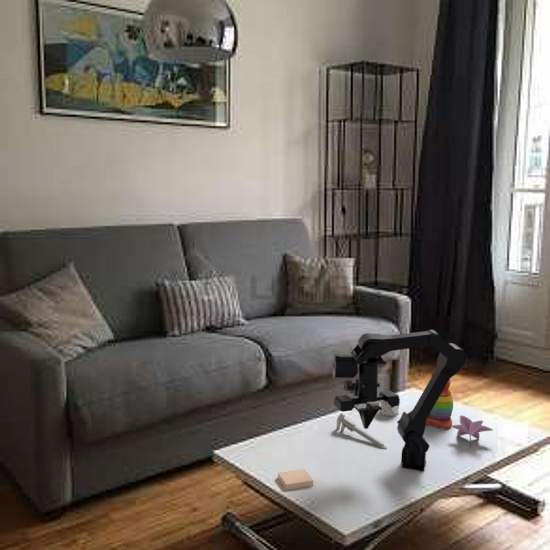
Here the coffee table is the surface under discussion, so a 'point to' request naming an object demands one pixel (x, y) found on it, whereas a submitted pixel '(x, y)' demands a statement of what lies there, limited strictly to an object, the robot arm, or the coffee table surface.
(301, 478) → the tile
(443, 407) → the stacking bear
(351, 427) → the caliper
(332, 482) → the coffee table surface
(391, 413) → the mug
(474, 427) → the lily
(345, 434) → the coffee table surface
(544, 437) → the coffee table surface
